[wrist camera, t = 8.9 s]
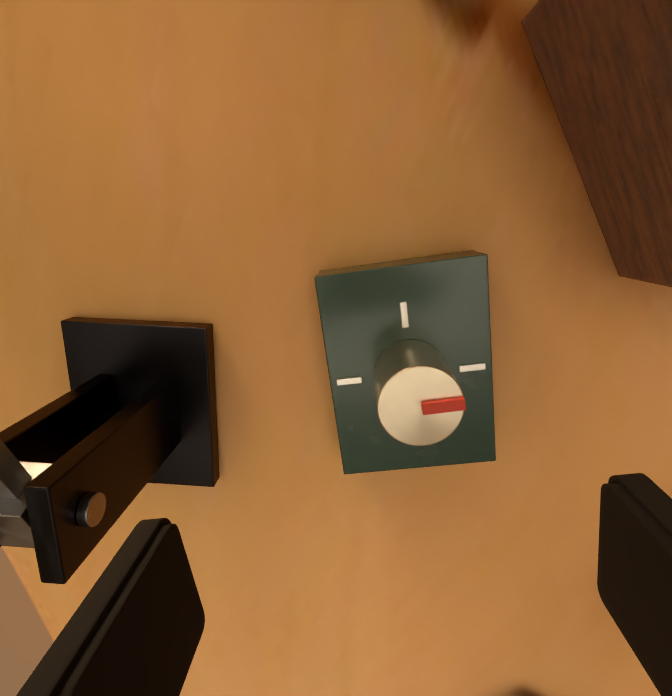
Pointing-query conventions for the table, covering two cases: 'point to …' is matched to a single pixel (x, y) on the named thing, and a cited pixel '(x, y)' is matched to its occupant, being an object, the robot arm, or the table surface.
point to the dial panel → (398, 325)
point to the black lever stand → (116, 431)
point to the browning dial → (417, 394)
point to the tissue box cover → (616, 117)
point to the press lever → (15, 498)
